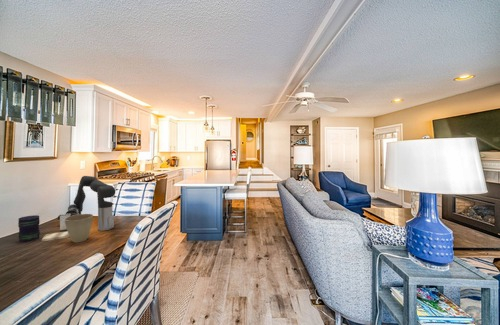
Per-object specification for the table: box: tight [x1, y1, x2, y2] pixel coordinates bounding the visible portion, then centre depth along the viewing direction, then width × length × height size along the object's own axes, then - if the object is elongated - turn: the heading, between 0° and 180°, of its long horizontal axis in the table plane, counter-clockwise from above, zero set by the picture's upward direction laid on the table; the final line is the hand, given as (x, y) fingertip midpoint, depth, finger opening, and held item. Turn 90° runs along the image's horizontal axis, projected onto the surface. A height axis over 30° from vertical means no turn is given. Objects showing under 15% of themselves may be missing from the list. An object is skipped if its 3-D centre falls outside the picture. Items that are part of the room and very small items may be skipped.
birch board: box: [41, 231, 70, 242], centre depth 146 cm, size 16×10×2 cm, turn 122°
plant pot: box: [64, 213, 94, 244], centre depth 140 cm, size 15×15×16 cm
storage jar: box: [17, 214, 41, 243], centre depth 140 cm, size 10×10×15 cm
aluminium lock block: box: [59, 213, 70, 232], centre depth 156 cm, size 5×6×12 cm
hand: (68, 218), depth 166 cm, fingers open, 8 cm apart
